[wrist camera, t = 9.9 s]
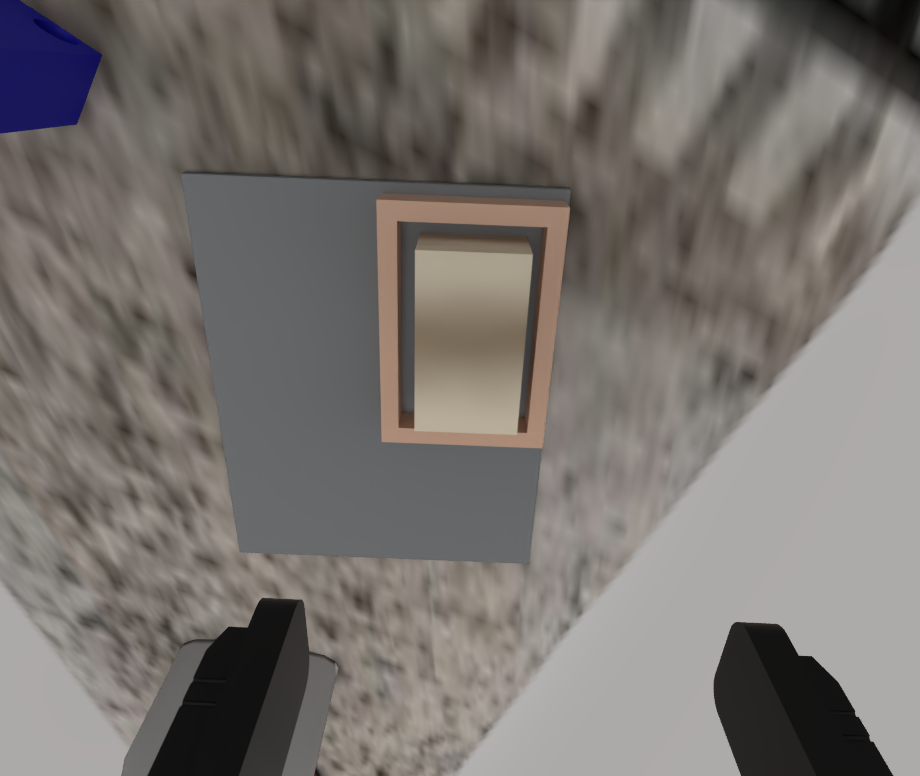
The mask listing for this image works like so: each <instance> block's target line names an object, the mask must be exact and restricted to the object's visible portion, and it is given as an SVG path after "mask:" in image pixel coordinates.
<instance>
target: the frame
mask: <svg viewBox="0 0 920 776" xmlns="http://www.w3.org/2000/svg"><path fill="white" fill-rule="evenodd" d="M376 209H377V255H378V300H379V346H380V391H381V437H382V442H395V443H420V444H445V445H470V446H494V447H519V448H543V441H544V432H545V424H546V415H547V406H548V397H549V389H550V380H551V371H552V362H553V354H554V345H555V336H556V328H557V319H558V310H559V301H560V293H561V284H562V275H563V266H564V258H565V249H566V240H567V231H568V223H569V214H570V207H569V205H568V204H567V203H566V201H557V200H533V199H509V198H485V197H461V196H437V195H413V194H389V193H381V194H380V195H379V197H378V198H377V199H376ZM401 221H405V222H429V223H453V224H478V225H502V226H526V227H543V233H542V243H541V254H540V264H539V274H538V285H537V295H536V306H535V316H534V326H533V337H532V347H531V357H530V368H529V378H528V388H527V399H526V409H525V417H518V428H517V435H504V434H478V433H452V432H426V431H414V413H404V412H402V377H401Z"/></svg>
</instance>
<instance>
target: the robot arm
mask: <svg viewBox="0 0 920 776" xmlns="http://www.w3.org/2000/svg"><path fill="white" fill-rule="evenodd" d="M308 673H309V647H308V637H307V627H306V618H305V608H304V603H303V601H302V600H294V599H273V598H262V599H261V600H260V601H259V603H258V604H257V607H256V609H255V611H254V614H253V616H252V619H251V621H250V624H249V626H248V628H244V627H228V628H227V629H226V630H225V631H224V632H223V633H222V634H221V635H220V636H219V637H218V638H217V639H216V640H215V641H214V642H213V643H212V644H211V645H210V646H209V647H208V648H207V649H206V651H205V653H204V656H203V658H202V660H201V662H200V664H199V666H198V668H197V670H196V673H195V675H194V677H193V682H192V683H190V685H189V688H188V690H187V692H186V694H185V696H184V698H183V703H182V706H180V707H179V709H178V711H177V713H176V715H175V717H174V720H173V722H172V724H171V726H170V728H169V730H168V732H167V735H166V737H165V739H164V741H163V743H162V745H161V747H160V749H159V752H158V754H157V756H156V758H155V760H154V762H153V764H152V767H151V769H150V771H149V773H148V775H147V776H282V773H283V770H284V766H285V762H286V759H287V755H288V752H289V748H290V744H291V741H292V737H293V734H294V730H295V726H296V723H297V719H298V716H299V712H300V708H301V705H302V701H303V698H304V694H305V690H306V686H307V680H308ZM714 699H715V704H716V709H717V712H718V715H719V718H720V720H721V723H722V726H723V728H724V731H725V734H726V736H727V739H728V742H729V745H730V747H731V750H732V753H733V755H734V758H735V761H736V763H737V766H738V769H739V771H740V774H741V776H893V775H892V773H891V771H890V769H889V768H888V766H887V765H886V763H885V761H884V759H883V758H882V756H881V754H880V752H879V751H878V749H877V747H876V746H875V744H874V742H871V741H870V739H869V734H868V732H867V730H866V729H865V727H864V725H863V724H862V722H861V720H860V719H859V717H856V716H855V710H854V708H853V707H852V705H851V703H850V702H849V700H848V698H847V696H846V695H845V693H844V691H843V690H842V688H841V686H840V685H839V683H838V682H837V681H836V680H835V679H834V678H833V677H832V676H831V675H830V674H829V673H828V672H827V671H826V670H825V669H824V668H823V667H822V666H821V665H820V664H819V663H818V662H817V661H816V660H815V659H814V658H813V657H812V656H798V654H797V652H796V650H795V648H794V646H793V645H792V643H791V641H790V639H789V637H788V635H787V634H786V632H785V630H784V629H783V628H782V627H781V626H780V625H778V624H766V623H745V622H736V623H734V624H733V625H732V626H731V629H730V632H729V635H728V638H727V641H726V644H725V647H724V650H723V653H722V656H721V659H720V662H719V665H718V668H717V671H716V674H715V678H714Z"/></svg>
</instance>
